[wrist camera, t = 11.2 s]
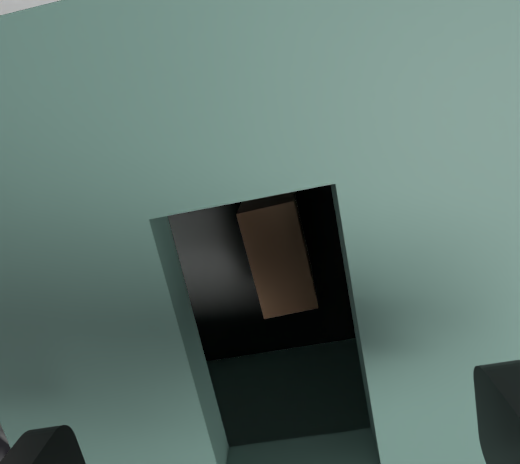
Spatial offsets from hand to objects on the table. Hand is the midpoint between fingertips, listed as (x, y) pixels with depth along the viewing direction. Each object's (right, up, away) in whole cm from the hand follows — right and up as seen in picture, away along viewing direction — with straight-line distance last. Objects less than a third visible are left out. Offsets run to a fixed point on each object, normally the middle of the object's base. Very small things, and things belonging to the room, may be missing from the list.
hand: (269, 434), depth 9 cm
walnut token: (+1, +4, +16) cm, 17 cm away
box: (+1, +4, +16) cm, 17 cm away
